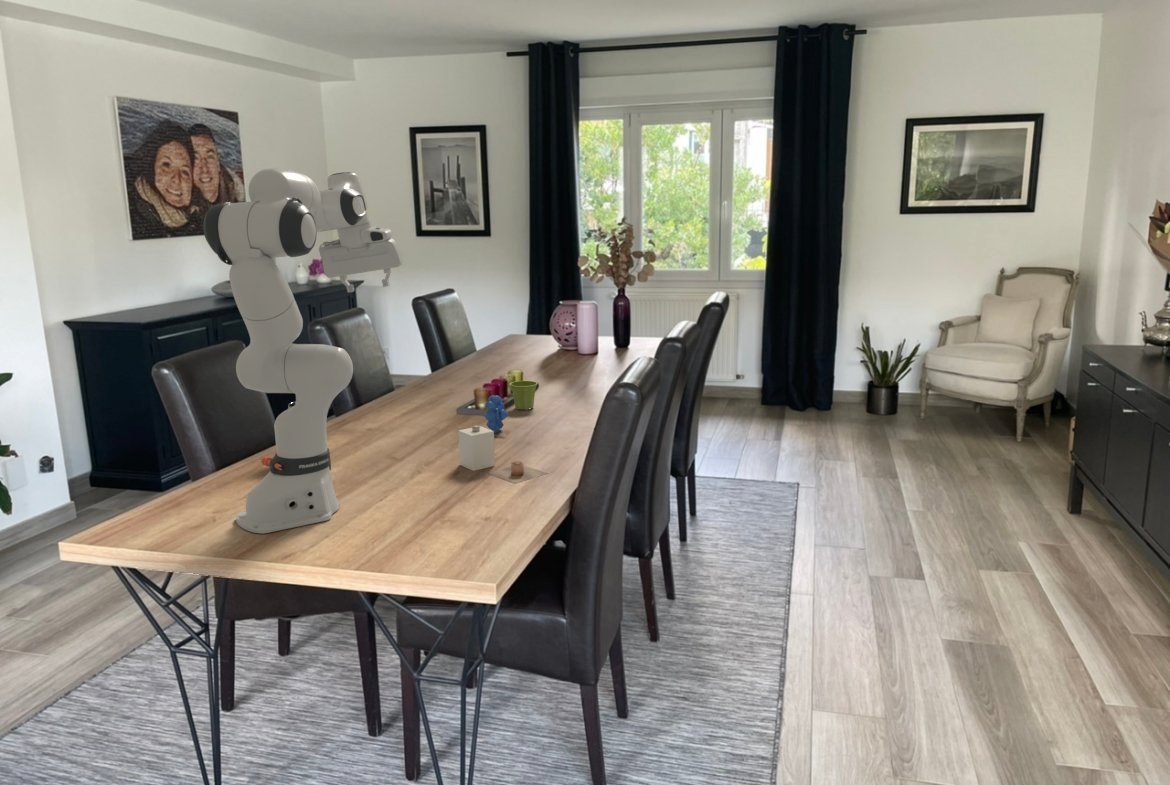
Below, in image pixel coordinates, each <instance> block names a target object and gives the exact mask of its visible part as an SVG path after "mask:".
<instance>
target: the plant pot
mask: <svg viewBox="0 0 1170 785" xmlns="http://www.w3.org/2000/svg"><path fill="white" fill-rule="evenodd" d="M537 385H538V382H537V381H535V380H516V381H511V382H510V383H509V386H510V389H511V391H512V396H513V397H512V398H513V402H514V408H515V409H516V410H517V409H519V410H522V409H529V408H532V407H533V408H534V403H535V396H536V395H535V394H536V389H537ZM533 408H532V409H533Z"/></svg>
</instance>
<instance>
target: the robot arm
mask: <svg viewBox="0 0 1170 785" xmlns="http://www.w3.org/2000/svg"><path fill="white" fill-rule="evenodd" d="M327 188H328V189H327V190H319V187H318V186H317V184H316V183H315V181H314V180H313V179H312V178H310V177H309V176H307V175H306V174H304V173H301V172H299V171H296V170H293V169H288V168H282V167H272V168H265V169H262V170H260V171H257V172H256V173H255V174H254V175H253V176H252V178H251V179H250V182H249V184H248V188H247V189H248V196H249V200H250V201H240V202H234V203H233V202H231V201H229V202H222V203H217V204H214V205H212V206H211V207H209V208H208V210H207V211H206V214H205V216H204V219H203V226H202V227H203V228H202V229H203V234H204V237H205V241H206V242H207V244H208V246H209V247H210V248H211V250H212V251H213V252H214V254H216V255H217V257H218V259H219V260H220V261H221V262H222V263H224V264H226V265H228V266H231V267H230V269H229V273H228V276H229V277H228V278H229V283H230V287H231V292H232V296H233V298H234V301H235V304H236V307H237V308H238V312H239V313H240V315H241V318H242V319H243V323H244V324H245V326H246V329H247V332H248V335H249V338H250V340H249V342H250V343H249V345H248V346H246V347H245V348H244V349H243V350H242V351H241V352H240V353H239V355H238V358H237V360H236V363H235V372H236V376H237V379H238V380H239V383H240V384H241V386H243V387H244V388H245V389H248V390H251V391H255V392H262V393H266V394H295V402H296V403H295V406H293V407H291V408H289V409H288V408H287V409H286V410H284V411H282V412H281V413H279V414H278V416H277V417H276V419H275V421H274V425H273V428H274V437H275V439H274V440H275V449H276V453H275V454H274V456H273V458H272V457H269V456H266V455H265V456H262V457H261V458H262V459H260V462H261V464H262V465H263V466H266V467H269V470H270V471H269V472H268V473H266V475H265V476H264V477H263V478H262V479H260V480H259V482H258V483H257V484H256V485H255V486H254V487H253V488H251V489H250V490H249V491H248V492H247V496H246V501H245V502H246V503H245V511H241V512H239V513H237V514H236V517H235V520H236V521H235V522H236V524H237V525H238V526H239V527H240V528H242V529H243V530H245V531H248V532H251V533H254V534H261V535H262V534H268V533H273V532H279V531H283V530H287V529H293V528H297V527H302V526H306V525H311V524H315V523H321V522H327V521H328V520H330V519H332V517H333V514H334V513H336V512H337V511H338V510H339V508H340V503H339V501H338V499H337V496H336V493H335V488H334V485H333V480H332V475H331V471H332V464H331V463H332V460H331V452H330V448H328V440H327V438H328V436H327V418H328V417H327V416H328V413H329V409H330V407H331V405H332V403H333V401H334V399H335V398H336V397H337V396H338V394H340V393H341V392H342V391H344V390H345V389H346V388H347V386H348V385H349V384H350V383H351V380H352V379H353V373H354V365H353V360H352V359H351V356H350V355H349V353H348V352H347V350H346V349H344V348H342V347H338V346H334V345H328V344H323V343H320V344H318V343H316V344H315V343H299V344H298V343H294V342H295V340H297V338H299V336H300V335H301V333H302V331H303V329H304V328H303V325H304V324H303V323H304V320H303V317H302V314H301V312H300V309H299V306H298V304H297V301H296V300H295V296H294V294H293V292H292V290H291V287H290V285H289V282H288V281H287V278H285V276H284V274H283V272H282V271H281V269H280V268H279V266H278V265H277V263H276V262H277V260H276V258H285V257H289V258H296V257H301V256H305V255H308V254H309V253H310V252H311V251H312V250H313V248H314V247H315V245H316V242H317V233H320V232H327V231H328V232H329V231H335V230H336V232H337V236H338V239H334V240H331V241H328V240H327V241H323V242H322V243H321V244H320V245H319V248H318V250H319V251H318V252H319V255H320V257H321V258H322V267H323V273H324V276H325V277H327V278H328V279H330V278H338V277H339V280H340V282H341V283H342V284H343V285H344V286H345V287H346V291H347V293H354V292H355V287H354V286H355V285H354V284H353V283H350V282H349V281H348V280H347V279H348V276H349V275H357V274H362V273H363V274H364V273H367V272H368V273H369V272H375V271H382V270H383V273H384V274H385V278H383V279H381V283H382V287H383V288H386V287H389V286H390V285H391V284H390V279H389V278H390V276H391V273H392V270H391V269H393V268H399V267H400V266H402V264H403V262H404V261H403V256H402V253H401V249H400V247H399V245H398V242H397V241H396V240H395V239H394V238H392V237H393V231H392V230H391V229H390V228H384V227H378V226H373V224H372V220H371V219H370V216H369V214H368V203H367V199H366V198H367V197H366V195H365V191H364V188H363V186H362V183H361V181H360V178H359V176H358V175H357V173H354V172H349V171H346V172H338V173H337V172H336V173H333V174H330V175H329V176H328V177H327Z"/></svg>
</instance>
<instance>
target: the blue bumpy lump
mask: <svg viewBox="0 0 1170 785" xmlns="http://www.w3.org/2000/svg"><path fill="white" fill-rule="evenodd" d="M487 401H488V402H486V404H485V405H484V407H485V409H486V410H487V411H486V412H485V413H484V417H485V419H486V421H487V422H486V426H487V429H490V430H492V431H494V434H495V433H498V432H499V431H500V430H501V429H503V427H504V423H503V420H505V419H507V418H508V416H509V413H508V412H507V410H505V408H506V406H505V405H504V404H503V399H502V398H501V397H500V396H499V395H492V394H491V395H490V396H489V397H488V399H487Z"/></svg>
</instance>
